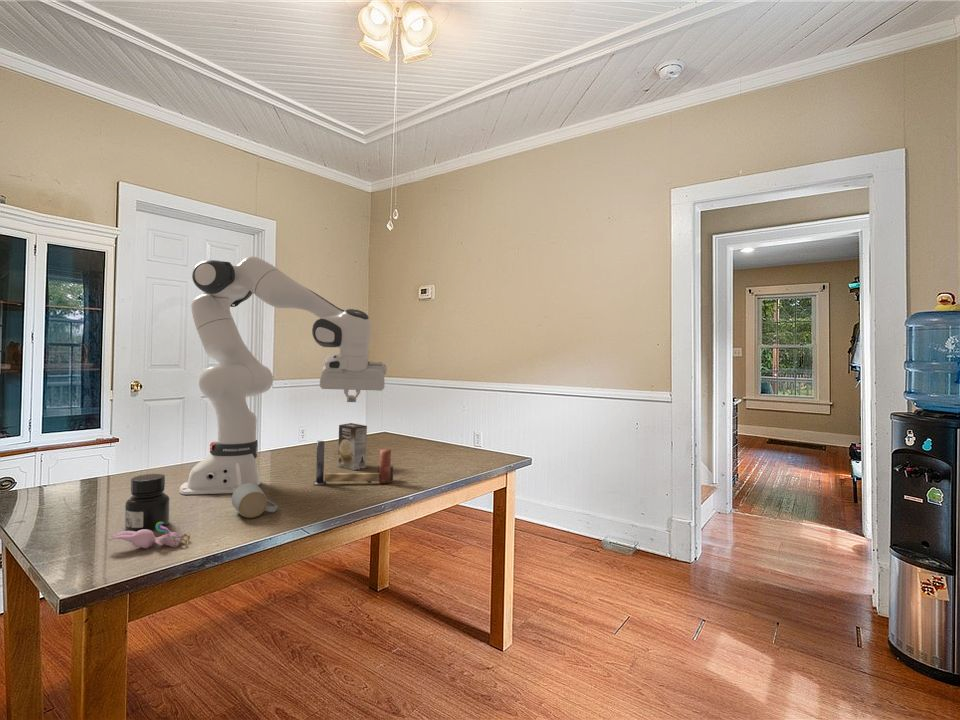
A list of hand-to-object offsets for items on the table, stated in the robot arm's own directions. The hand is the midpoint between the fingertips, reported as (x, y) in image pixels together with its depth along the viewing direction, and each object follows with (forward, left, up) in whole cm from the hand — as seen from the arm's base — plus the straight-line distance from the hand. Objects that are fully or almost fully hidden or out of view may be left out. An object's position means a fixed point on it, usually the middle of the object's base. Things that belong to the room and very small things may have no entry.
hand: (351, 401), depth 155 cm
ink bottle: (-51, -21, -28) cm, 62 cm away
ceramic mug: (-27, -19, -28) cm, 43 cm away
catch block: (+12, +3, -28) cm, 30 cm away
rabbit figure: (-47, -35, -28) cm, 65 cm away
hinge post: (-9, +5, -28) cm, 29 cm away
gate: (+3, +2, -27) cm, 28 cm away
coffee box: (+4, +25, -28) cm, 38 cm away
